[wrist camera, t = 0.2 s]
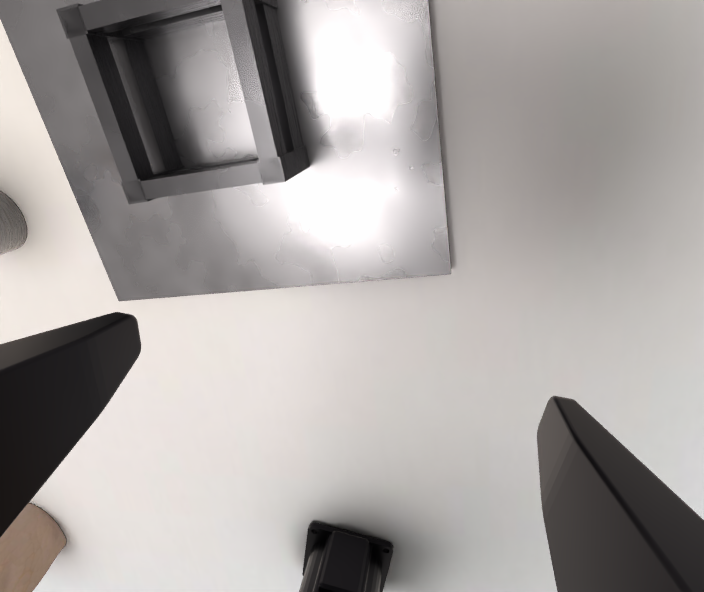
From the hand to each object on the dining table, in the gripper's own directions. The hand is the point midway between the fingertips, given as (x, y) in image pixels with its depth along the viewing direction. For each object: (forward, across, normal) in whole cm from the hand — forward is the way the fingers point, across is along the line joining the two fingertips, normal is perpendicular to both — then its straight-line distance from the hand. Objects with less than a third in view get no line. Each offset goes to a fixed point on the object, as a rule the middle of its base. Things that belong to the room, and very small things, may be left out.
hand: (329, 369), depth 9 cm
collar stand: (+15, +9, -4) cm, 18 cm away
